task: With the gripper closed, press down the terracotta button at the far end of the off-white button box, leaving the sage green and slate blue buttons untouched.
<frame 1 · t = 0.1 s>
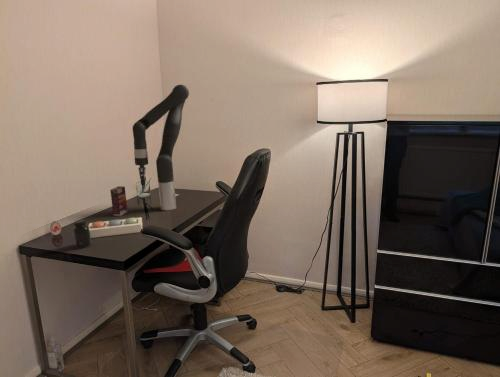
hand: (143, 183, 211), 17 cm above the table, tool pointing down, fingers open, 8 cm apart
button slate: (115, 223, 182), point 4 cm above the table, slide at 0.0 cm
button box: (116, 231, 183), on the table
button sage: (131, 221, 184), point 4 cm above the table, slide at 0.0 cm
supplement box: (120, 213, 212), on the table
supplement bottle: (83, 245, 165), on the table
button terracotta: (98, 225, 180), point 4 cm above the table, slide at 0.0 cm
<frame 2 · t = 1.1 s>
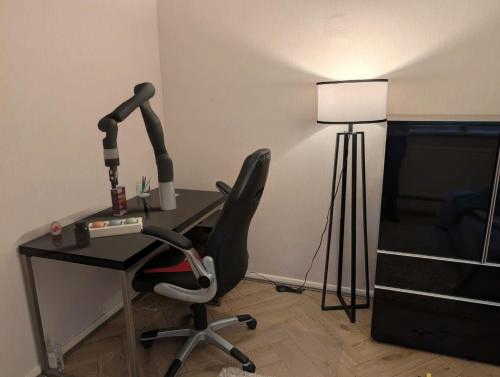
hand: (115, 186, 190), 20 cm above the table, tool pointing down, fingers open, 8 cm apart
nothing on the table moved.
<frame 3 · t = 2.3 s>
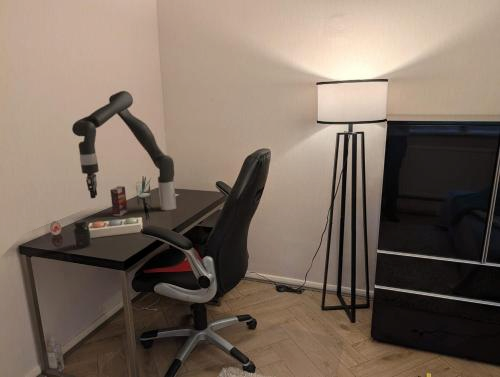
hand: (94, 196, 176), 19 cm above the table, tool pointing down, fingers open, 4 cm apart
nothing on the table moved.
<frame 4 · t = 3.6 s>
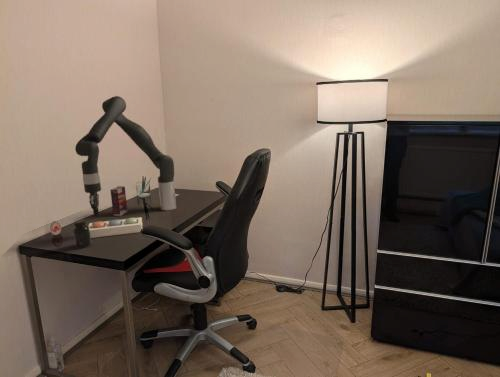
hand: (96, 215, 178), 9 cm above the table, tool pointing down, fingers closed
nothing on the table moved.
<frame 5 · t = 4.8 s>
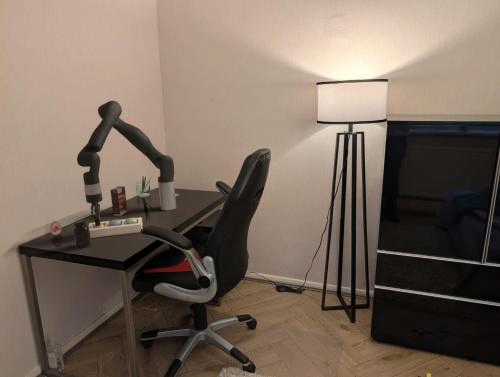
hand: (98, 225, 180), 4 cm above the table, tool pointing down, fingers closed
button terracotta: (98, 227, 180), point 3 cm above the table, slide at 1.2 cm, touching gripper
everything else where it was.
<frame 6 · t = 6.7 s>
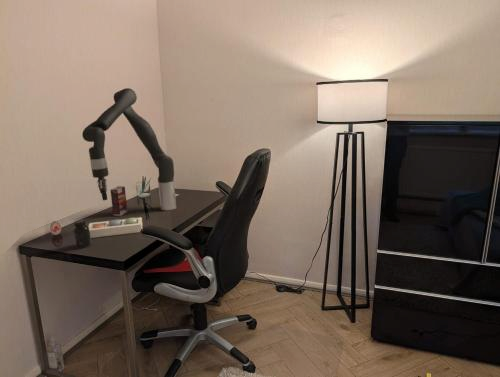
hand: (105, 199, 183), 16 cm above the table, tool pointing down, fingers closed
button terracotta: (98, 228, 180), point 3 cm above the table, slide at 1.6 cm
everything else where it was.
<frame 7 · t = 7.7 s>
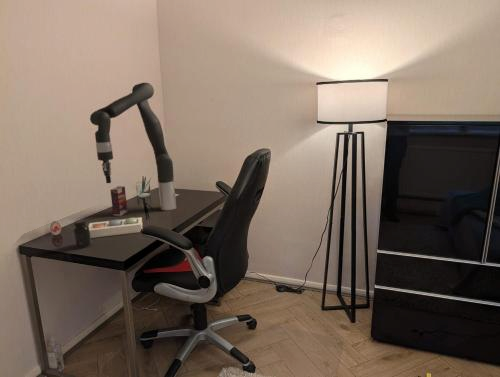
hand: (108, 182, 189), 23 cm above the table, tool pointing down, fingers closed
nothing on the table moved.
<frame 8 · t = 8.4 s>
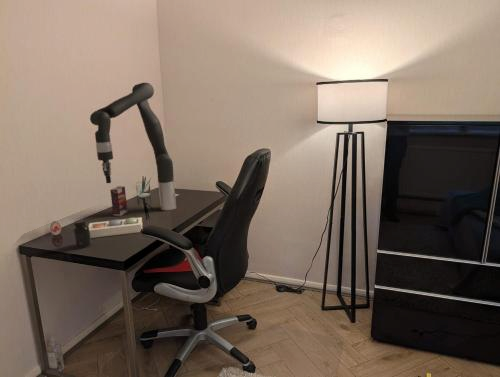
hand: (108, 182, 189), 23 cm above the table, tool pointing down, fingers closed
nothing on the table moved.
at the end: button terracotta slide at 1.6 cm; button sage slide at 0.0 cm; button slate slide at 0.0 cm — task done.
